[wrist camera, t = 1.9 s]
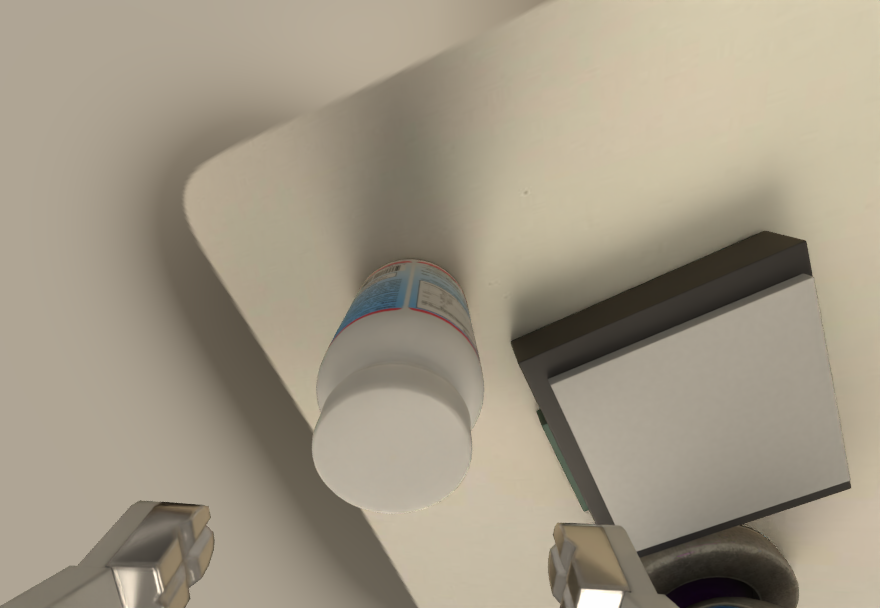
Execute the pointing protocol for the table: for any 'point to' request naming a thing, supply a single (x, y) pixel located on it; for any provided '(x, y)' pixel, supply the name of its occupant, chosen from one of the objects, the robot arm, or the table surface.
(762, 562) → the webcam
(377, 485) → the pill bottle
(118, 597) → the robot arm
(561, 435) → the scale
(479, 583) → the table surface
